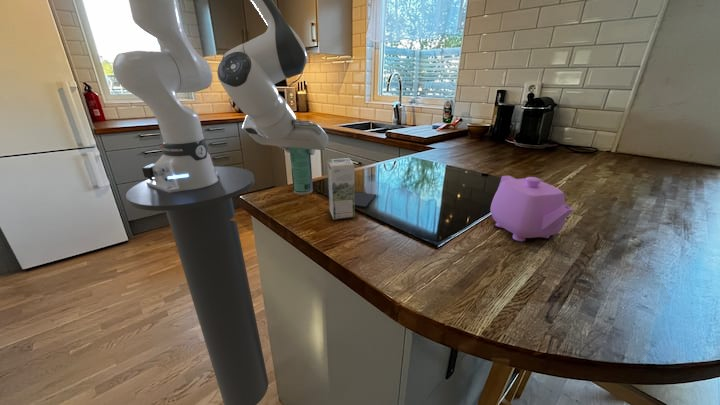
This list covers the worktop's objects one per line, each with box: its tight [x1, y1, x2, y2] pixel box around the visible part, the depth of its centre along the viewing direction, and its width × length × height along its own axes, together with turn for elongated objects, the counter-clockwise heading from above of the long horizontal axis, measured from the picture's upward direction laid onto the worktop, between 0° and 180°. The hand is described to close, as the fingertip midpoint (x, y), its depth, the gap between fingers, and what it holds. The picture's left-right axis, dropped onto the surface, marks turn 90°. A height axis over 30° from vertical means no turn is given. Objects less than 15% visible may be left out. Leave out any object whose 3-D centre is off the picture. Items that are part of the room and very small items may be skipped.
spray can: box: [289, 118, 314, 196], centre depth 81 cm, size 6×6×20 cm
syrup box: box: [326, 157, 356, 221], centre depth 75 cm, size 6×6×14 cm
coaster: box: [355, 191, 377, 209], centre depth 86 cm, size 9×9×1 cm
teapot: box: [489, 174, 574, 242], centre depth 66 cm, size 20×12×13 cm, turn 12°
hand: (301, 151), depth 81 cm, fingers closed on spray can, 5 cm apart
